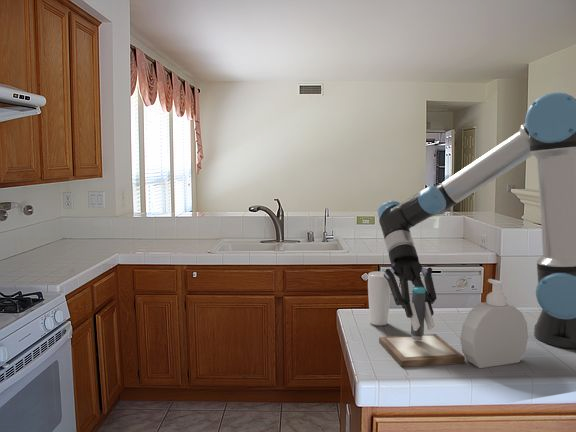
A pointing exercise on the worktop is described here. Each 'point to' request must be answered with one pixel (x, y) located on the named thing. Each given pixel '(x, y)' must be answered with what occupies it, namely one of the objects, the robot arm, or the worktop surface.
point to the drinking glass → (378, 298)
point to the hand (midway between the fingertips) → (424, 327)
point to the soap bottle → (494, 331)
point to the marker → (418, 311)
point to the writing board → (420, 350)
